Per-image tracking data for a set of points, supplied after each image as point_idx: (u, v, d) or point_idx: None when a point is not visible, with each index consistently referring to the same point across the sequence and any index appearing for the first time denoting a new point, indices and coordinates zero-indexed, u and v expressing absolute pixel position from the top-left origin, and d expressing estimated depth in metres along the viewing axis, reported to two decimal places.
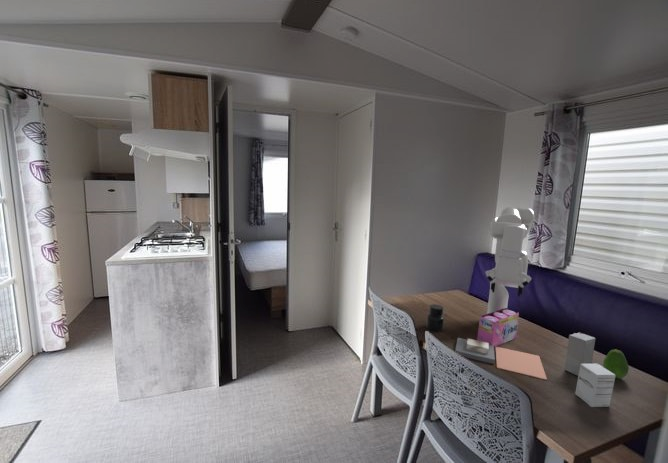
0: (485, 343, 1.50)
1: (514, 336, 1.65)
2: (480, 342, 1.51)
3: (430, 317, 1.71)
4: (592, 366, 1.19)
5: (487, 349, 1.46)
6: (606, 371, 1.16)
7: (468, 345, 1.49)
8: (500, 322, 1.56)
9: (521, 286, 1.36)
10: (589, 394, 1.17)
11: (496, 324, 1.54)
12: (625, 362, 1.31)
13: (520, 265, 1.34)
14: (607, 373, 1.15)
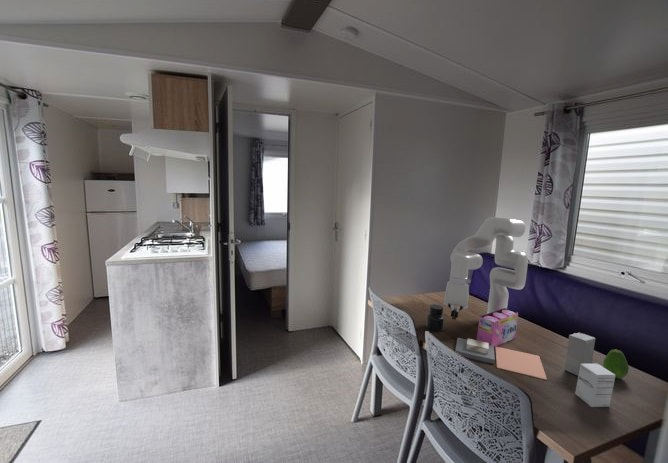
0: (485, 343, 1.50)
1: (513, 336, 1.65)
2: (480, 342, 1.51)
3: (430, 317, 1.71)
4: (592, 366, 1.19)
5: (487, 349, 1.46)
6: (606, 371, 1.16)
7: (468, 345, 1.49)
8: (500, 322, 1.56)
9: (457, 310, 1.50)
10: (589, 393, 1.17)
11: (495, 325, 1.54)
12: (625, 362, 1.31)
13: (466, 291, 1.47)
14: (607, 373, 1.15)
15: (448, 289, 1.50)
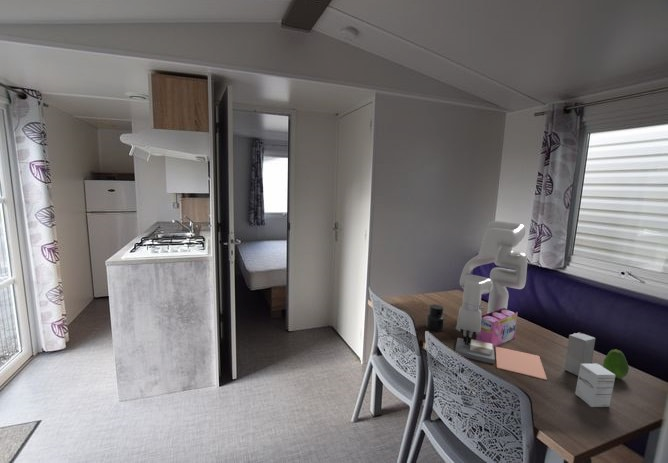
0: (489, 344, 1.49)
1: (513, 336, 1.65)
2: (484, 343, 1.50)
3: (430, 317, 1.71)
4: (592, 366, 1.19)
5: (491, 350, 1.45)
6: (606, 371, 1.16)
7: (472, 346, 1.48)
8: (499, 322, 1.56)
9: (469, 336, 1.50)
10: (589, 393, 1.17)
11: (495, 325, 1.53)
12: (625, 362, 1.31)
13: (479, 317, 1.46)
14: (607, 373, 1.15)
15: (461, 315, 1.49)
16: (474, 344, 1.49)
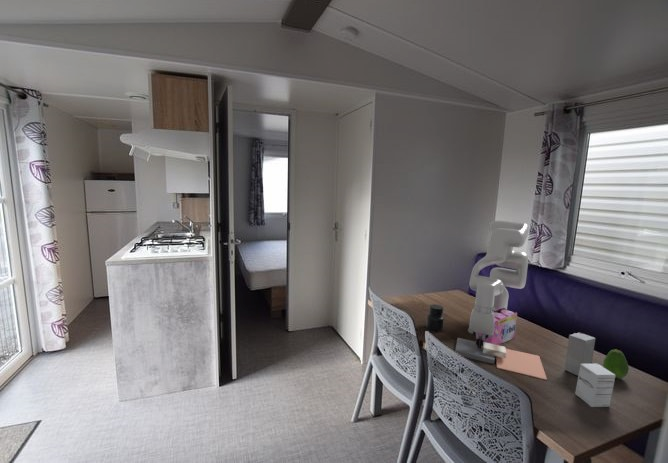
0: (502, 347, 1.47)
1: (512, 336, 1.65)
2: (497, 346, 1.48)
3: (430, 317, 1.71)
4: (592, 366, 1.19)
5: (504, 353, 1.43)
6: (606, 371, 1.16)
7: (485, 349, 1.46)
8: (499, 322, 1.56)
9: (482, 339, 1.47)
10: (589, 394, 1.17)
11: (495, 325, 1.54)
12: (625, 362, 1.31)
13: (492, 319, 1.44)
14: (607, 373, 1.15)
15: (473, 317, 1.47)
16: (487, 347, 1.46)
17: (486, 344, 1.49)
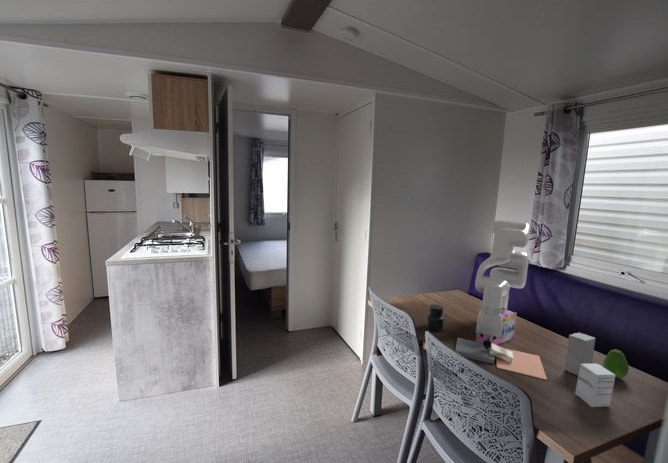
0: (509, 351, 1.46)
1: (512, 336, 1.66)
2: (504, 349, 1.47)
3: (430, 317, 1.71)
4: (592, 366, 1.19)
5: (511, 358, 1.42)
6: (606, 371, 1.16)
7: (492, 350, 1.44)
8: None
9: (490, 340, 1.46)
10: (589, 393, 1.17)
11: None
12: (625, 362, 1.31)
13: (500, 321, 1.43)
14: (607, 373, 1.15)
15: (481, 319, 1.46)
16: (495, 349, 1.45)
17: (494, 346, 1.48)
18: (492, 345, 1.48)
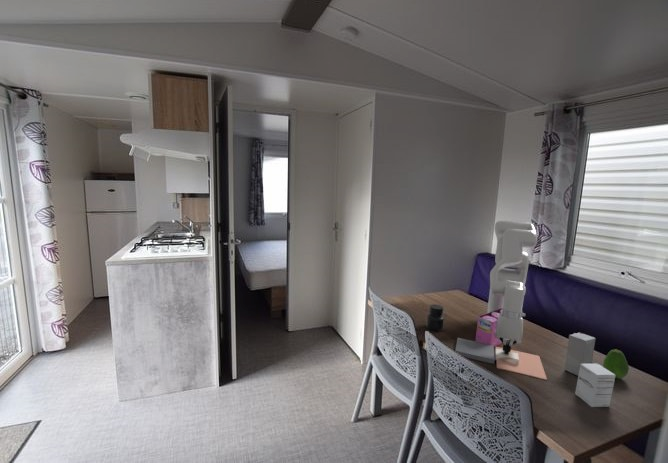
0: (514, 353, 1.45)
1: None
2: (509, 352, 1.46)
3: (430, 317, 1.71)
4: (592, 366, 1.19)
5: (517, 360, 1.40)
6: (606, 371, 1.16)
7: (497, 356, 1.44)
8: None
9: (510, 345, 1.43)
10: (589, 393, 1.17)
11: (494, 324, 1.54)
12: (625, 362, 1.31)
13: (520, 325, 1.40)
14: (607, 373, 1.15)
15: (501, 323, 1.43)
16: (499, 354, 1.44)
17: (498, 350, 1.47)
18: (496, 350, 1.47)
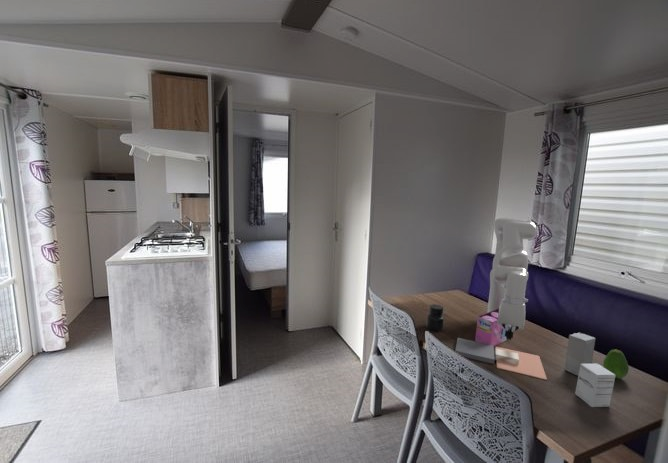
0: (514, 353, 1.45)
1: None
2: (509, 352, 1.46)
3: (430, 317, 1.71)
4: (592, 366, 1.19)
5: (517, 360, 1.40)
6: (606, 371, 1.16)
7: (497, 356, 1.44)
8: None
9: (512, 331, 1.43)
10: (589, 394, 1.17)
11: (494, 324, 1.54)
12: (625, 362, 1.31)
13: (523, 311, 1.39)
14: (607, 373, 1.15)
15: (503, 309, 1.42)
16: (499, 354, 1.44)
17: (498, 350, 1.47)
18: (496, 350, 1.47)
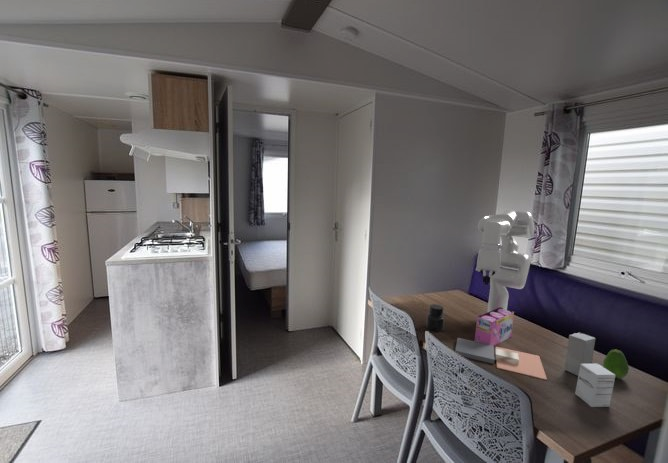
0: (514, 353, 1.45)
1: (509, 335, 1.66)
2: (509, 352, 1.46)
3: (430, 317, 1.71)
4: (592, 366, 1.19)
5: (517, 360, 1.40)
6: (606, 371, 1.16)
7: (497, 356, 1.44)
8: (498, 322, 1.56)
9: (489, 276, 1.56)
10: (589, 393, 1.17)
11: (493, 324, 1.54)
12: (625, 362, 1.31)
13: (498, 256, 1.53)
14: (607, 373, 1.15)
15: (481, 255, 1.56)
16: (499, 354, 1.44)
17: (498, 350, 1.47)
18: (496, 350, 1.47)
